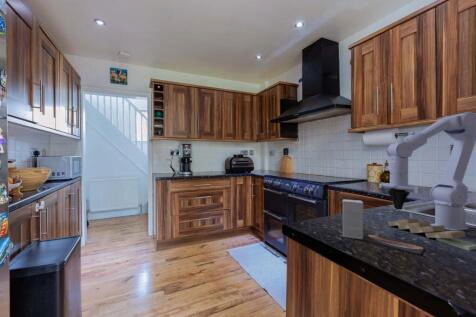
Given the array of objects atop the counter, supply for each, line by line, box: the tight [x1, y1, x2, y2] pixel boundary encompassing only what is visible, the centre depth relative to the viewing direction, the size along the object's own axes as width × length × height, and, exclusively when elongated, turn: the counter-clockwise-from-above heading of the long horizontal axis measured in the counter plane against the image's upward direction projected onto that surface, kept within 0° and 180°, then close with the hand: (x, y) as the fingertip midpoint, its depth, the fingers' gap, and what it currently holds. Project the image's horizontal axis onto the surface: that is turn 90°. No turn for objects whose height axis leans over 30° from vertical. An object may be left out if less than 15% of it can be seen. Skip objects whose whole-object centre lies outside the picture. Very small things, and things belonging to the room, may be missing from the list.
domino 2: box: [397, 221, 431, 230], centre depth 80 cm, size 2×5×8 cm
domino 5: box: [435, 238, 476, 251], centre depth 69 cm, size 2×5×8 cm
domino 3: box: [408, 225, 446, 234], centre depth 76 cm, size 2×5×8 cm
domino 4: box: [424, 230, 467, 239], centre depth 71 cm, size 2×5×8 cm
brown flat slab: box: [361, 234, 426, 256], centre depth 68 cm, size 8×1×15 cm
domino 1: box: [387, 218, 420, 227], centre depth 84 cm, size 2×5×8 cm
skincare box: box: [342, 199, 364, 240], centre depth 74 cm, size 6×4×12 cm
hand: (398, 209), depth 85 cm, fingers closed
